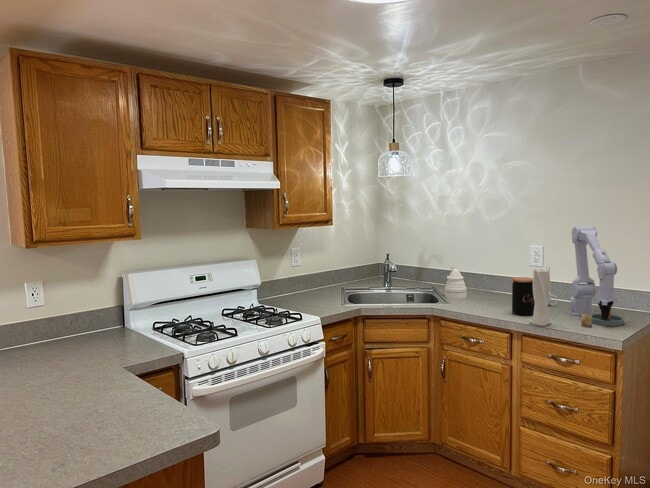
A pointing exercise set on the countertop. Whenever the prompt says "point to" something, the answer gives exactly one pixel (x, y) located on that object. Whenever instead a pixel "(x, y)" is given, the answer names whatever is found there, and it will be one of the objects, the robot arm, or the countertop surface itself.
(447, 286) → the honey pot
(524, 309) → the coffee jar
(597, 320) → the ring dish
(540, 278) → the skyscraper
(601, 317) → the walnut bead
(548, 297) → the mug
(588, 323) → the oak bead
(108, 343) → the countertop surface
